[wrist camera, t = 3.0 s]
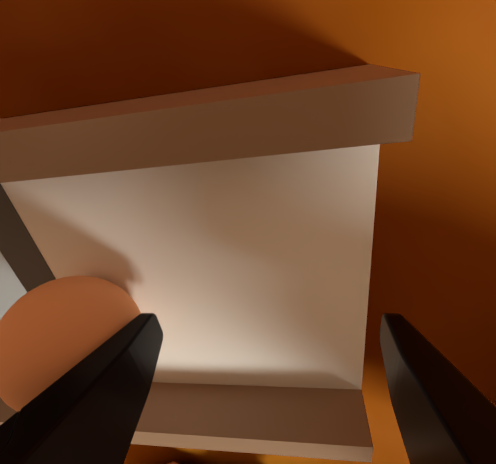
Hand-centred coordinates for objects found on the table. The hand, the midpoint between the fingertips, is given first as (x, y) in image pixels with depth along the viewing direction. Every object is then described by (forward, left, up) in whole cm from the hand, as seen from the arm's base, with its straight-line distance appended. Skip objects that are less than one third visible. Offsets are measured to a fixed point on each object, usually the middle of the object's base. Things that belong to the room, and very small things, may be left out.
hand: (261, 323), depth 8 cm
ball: (+6, 0, 0) cm, 6 cm away
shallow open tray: (+6, 0, -3) cm, 7 cm away
